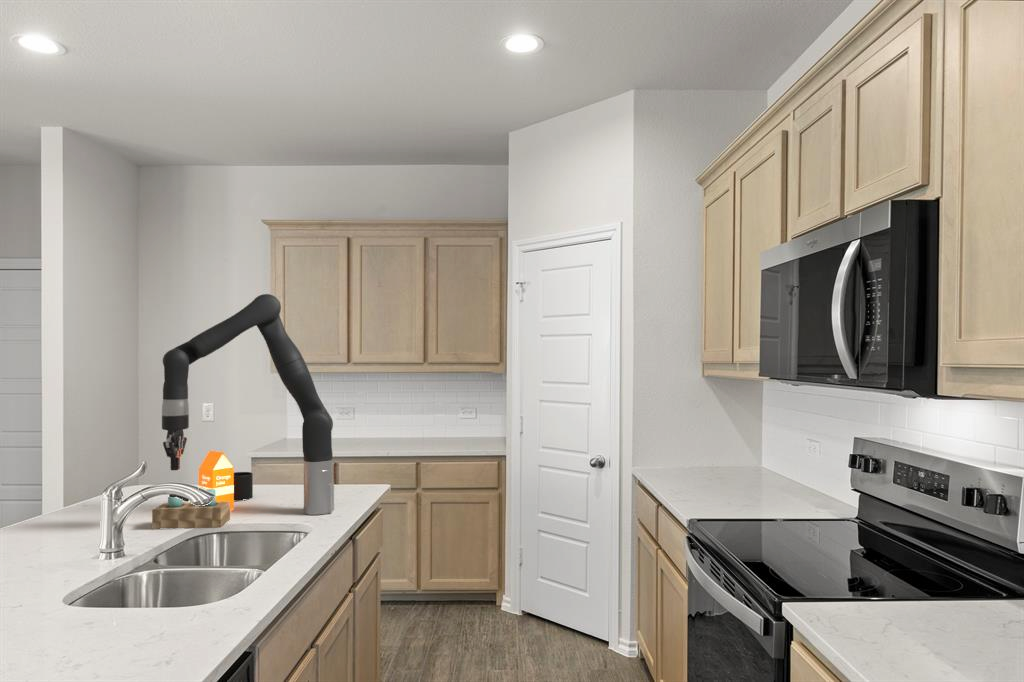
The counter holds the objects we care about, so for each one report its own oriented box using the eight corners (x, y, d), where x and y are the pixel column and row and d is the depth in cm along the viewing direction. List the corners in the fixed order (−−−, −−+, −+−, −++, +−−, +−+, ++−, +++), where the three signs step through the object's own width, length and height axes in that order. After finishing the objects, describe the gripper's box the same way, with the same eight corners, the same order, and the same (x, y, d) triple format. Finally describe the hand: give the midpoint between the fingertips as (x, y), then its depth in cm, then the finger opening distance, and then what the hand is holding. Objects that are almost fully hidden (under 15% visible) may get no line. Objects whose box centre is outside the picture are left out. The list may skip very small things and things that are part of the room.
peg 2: (217, 507, 220) (217, 488, 220) (213, 509, 216) (213, 491, 216) (204, 507, 220) (204, 489, 220) (199, 510, 216) (199, 491, 216)
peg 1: (184, 508, 219) (184, 489, 219) (179, 510, 215) (179, 492, 215) (171, 508, 219) (171, 490, 219) (165, 511, 215) (165, 492, 215)
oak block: (230, 520, 223) (229, 501, 223) (220, 527, 214) (220, 507, 214) (164, 522, 221) (164, 503, 221) (152, 529, 212) (152, 509, 212)
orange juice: (212, 514, 231) (212, 453, 231) (198, 511, 236) (198, 451, 237) (234, 510, 237) (234, 451, 238) (220, 507, 243) (219, 449, 243)
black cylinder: (261, 495, 263) (261, 471, 263) (242, 502, 251) (242, 476, 251) (239, 494, 265) (239, 470, 265) (219, 501, 253) (219, 475, 253)
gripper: (179, 415, 211) (179, 473, 211) (195, 411, 225) (195, 466, 224) (153, 415, 211) (153, 473, 210) (171, 412, 224) (171, 466, 224)
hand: (175, 469), depth 217 cm, fingers closed
